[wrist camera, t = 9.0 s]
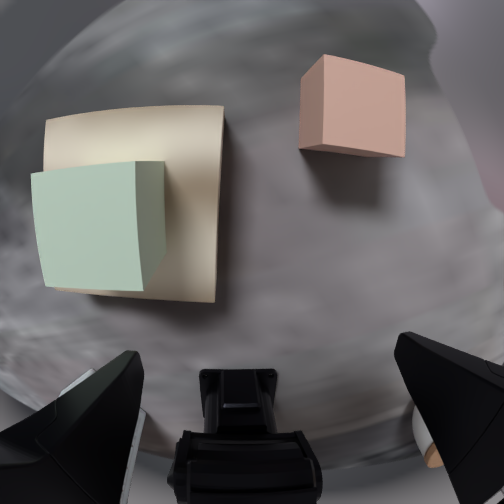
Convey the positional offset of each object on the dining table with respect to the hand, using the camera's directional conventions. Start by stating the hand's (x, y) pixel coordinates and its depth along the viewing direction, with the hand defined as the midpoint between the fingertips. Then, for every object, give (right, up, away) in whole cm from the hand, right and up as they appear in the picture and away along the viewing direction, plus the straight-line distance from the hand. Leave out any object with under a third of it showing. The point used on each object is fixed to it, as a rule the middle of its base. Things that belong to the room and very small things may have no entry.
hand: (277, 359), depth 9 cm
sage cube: (-8, +6, +6) cm, 11 cm away
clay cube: (+5, +13, +9) cm, 16 cm away
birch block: (-8, +7, +9) cm, 15 cm away
